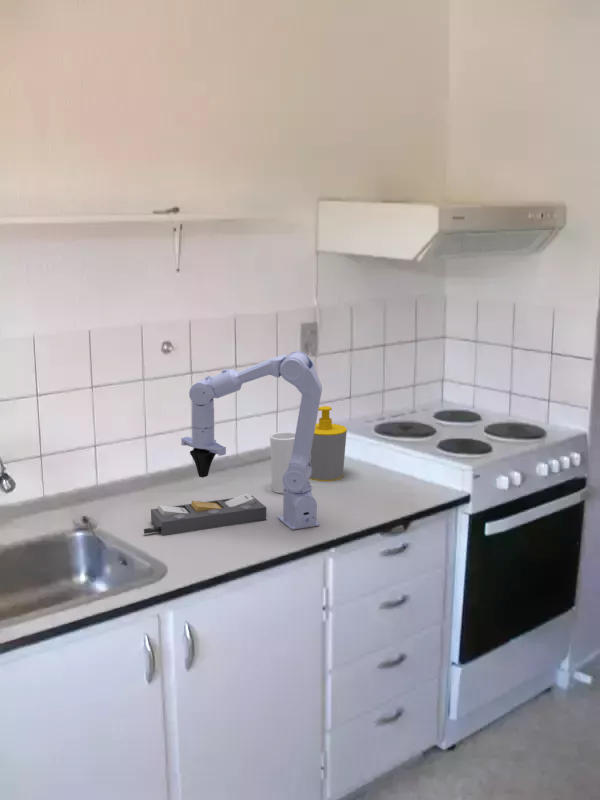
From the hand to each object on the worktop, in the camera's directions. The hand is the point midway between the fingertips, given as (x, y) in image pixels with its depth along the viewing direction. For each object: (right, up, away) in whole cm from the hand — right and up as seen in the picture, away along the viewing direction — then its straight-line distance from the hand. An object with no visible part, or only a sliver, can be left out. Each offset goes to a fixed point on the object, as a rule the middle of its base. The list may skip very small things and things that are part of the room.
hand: (203, 476), depth 235 cm
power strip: (0, -12, -3) cm, 12 cm away
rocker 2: (+9, -7, +2) cm, 12 cm away
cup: (+21, -6, +23) cm, 32 cm away
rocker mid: (+1, -8, -2) cm, 8 cm away
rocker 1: (-7, -9, -5) cm, 12 cm away
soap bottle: (+33, -3, +37) cm, 49 cm away
